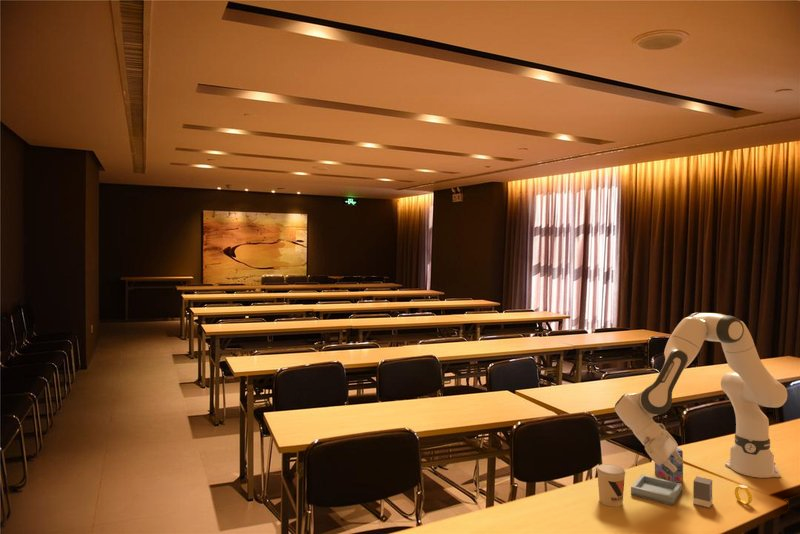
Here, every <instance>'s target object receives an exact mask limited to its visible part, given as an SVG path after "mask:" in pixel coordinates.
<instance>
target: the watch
mask: <svg viewBox="0 0 800 534" xmlns="http://www.w3.org/2000/svg"><path fill="white" fill-rule="evenodd" d="M739 490H744V491H745V493H746V494H747V496H748V497H747V498H748V501H744V500H742V498H741V497H740V495H739ZM734 495H735V498H736V500H737V502H739V503H742V504H744V505H750V504H751V503H752V502H753V495H752V492H751V490H749V487H748V486H747V485H746V484H745V485H744V484H739V485H738V486H736V487H735V489H734Z"/></svg>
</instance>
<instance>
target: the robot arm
mask: <svg viewBox="0 0 800 534" xmlns="http://www.w3.org/2000/svg"><path fill="white" fill-rule="evenodd" d="M704 341H708V342H719V343H720V344H721V348H722V351H723V353H724V357H725V360H726V362H727V363H726V364H727V365H728V367H729V368H730V369H731V370H732V371H727V372H726V373H725V374H724V375H722V377H721V380H720V387H721V390H722V391H723V393H725V394H726V396H727V398H728V399H729V401H730V403H731V405H732V407H733V411H734V415H735V424H736V425H735V434H734V444H733V445H731V446H730V450H729V459H728V461H725V463H724V466H725V467H727V468H728V469H731V470H732V471H734V472H736V473H738V474H741V475H744V476H747V477H753V478H760V479H764V478H767V479H768V478H780V477H781V473H780V470H779V468H778V466H777V464H776V462H775V454H773V452H772V451H771V449H770V448H771V439H770V438H769V437H770V435H769V434H770V430H769V429H770V427H769V425H770V422H769V417H767V415H766V414H765V413H764V412H763V410H762V409H761V408H760V406H761V407H766V408H780V407H782V406H784V405H785V403H786V402H787V400H788V391H787V388H786V387H785V385H783V384H782V383H781V382H779V381H778V380H777V379H776V378H775V377H774V376H773V375H772V374H771V373H770V372H769V370H768V369H767V368H766V367H765V366H764V364H763V362H762V361H761V359H760V355H759V354H758V351H757V348H756V345H755V343H754V339H753V337H752V335H751V332H750V330H749V329H748V327H747V325H746V324H745V323H744V321H742V320H740V319H739V318H737V317H736V316H733V315H728V314H727V315H726V314H723V313H718V312H717V313H716V312H703V311H702V312H701V311H699V312H698V311H697V312H694V313H691V314H690V315H688V316H687V317H684V318H682V319H681V321H680V322H679V323H678V324H677V325H676V327H674V330H673V331H672V333H671V334H670V336H669V338H668V340H667V342H666V345H665V348H664V352H663V355H664V359H665V360H664V363H663V366H662V368H661V370H660V372H659V374H658V375H657V377H656V379H655V381H654V382H653V383H652V384H650V385H649V386H647V387H646V388H645V389H644V390H643V391H639V392H634V393H623V395H622V396H620V398H619V399H618V400H617V402H616V403H614V411H615V413H616V414H617V416H618V417H619V419H620V420H621V422H623V424H625V426H627V427H628V428H629V429H630V430H631V431H632V432H633V435H634V436H635V437H636V438H637V440H638V441H639V442H640V443H641V444H642V445H643V446H644V450H645V452H646V453H647V455H648V456H649V457H650V458H651V460H652V461H653V462H654V464H655V463H656V464H657V465H659V466H660V465H661V464H664V465H665V466H666V467H668V468H669V469H670V470H671V471H672V472H676V471H677V467H676V466H675V465H673V464H672V463H671V462H670V461H669V459H668V458H669V457H670V456H671V454H672V456H674V457H675V459H676V461H677V462H678V463H679V464H681V463H683V464H684V459H682V458H681V457H680V455H679V453H678V451H677V450H676V448H678V447H679V445H678V443H677V441H676V440H675V438H674V437H673V436H672V435H671V434H670V433H669V431H667V430H666V427H665V425H664V424H663V423H658V422H655V421H654V419H653V418H654V417H655V416H658V415H659V416H660V415H664V414H666V413H668V411H669V410H670V409H671V406H672V404H673V390H674V388H675V386H676V384H677V383H678V380H680V379H679V378H680V377H681V375H682V372H683V371H684V370H685V369H687V367H688V366H690V364H692V362H693V361H694V360H695V358H696V357H697V355H698V354H699V352H700V351H701V348H702V346H703V344H704Z"/></svg>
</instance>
